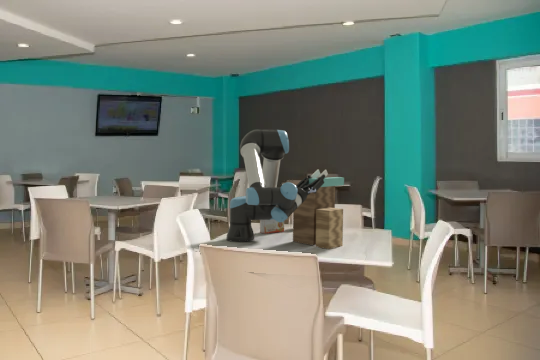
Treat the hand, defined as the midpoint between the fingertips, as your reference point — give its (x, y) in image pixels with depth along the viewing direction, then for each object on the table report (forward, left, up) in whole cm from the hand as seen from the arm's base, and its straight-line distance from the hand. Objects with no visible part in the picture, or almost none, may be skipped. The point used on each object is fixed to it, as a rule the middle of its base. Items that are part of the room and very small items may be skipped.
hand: (322, 171), depth 240 cm
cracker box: (-51, +7, -38) cm, 64 cm away
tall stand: (-16, +9, -38) cm, 42 cm away
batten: (-1, +4, -7) cm, 8 cm away
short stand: (-1, +6, -38) cm, 39 cm away
